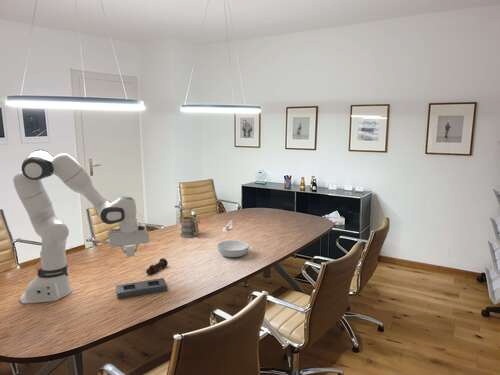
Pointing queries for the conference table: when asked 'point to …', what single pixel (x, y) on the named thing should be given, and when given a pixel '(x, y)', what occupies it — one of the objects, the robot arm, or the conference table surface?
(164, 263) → the bolt
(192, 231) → the tankard
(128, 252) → the wood grain block
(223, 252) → the serving bowl
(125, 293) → the grey slotted board
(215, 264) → the conference table surface
